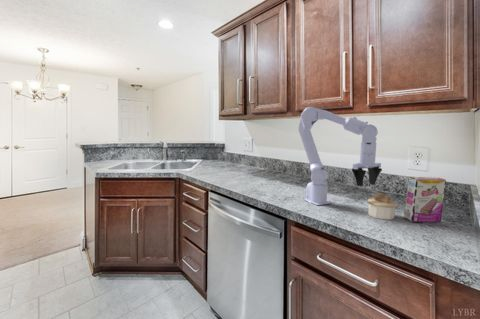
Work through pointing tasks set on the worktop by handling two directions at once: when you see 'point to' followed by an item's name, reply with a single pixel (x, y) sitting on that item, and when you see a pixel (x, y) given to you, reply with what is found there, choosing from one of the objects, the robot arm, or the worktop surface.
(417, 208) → the candy bar box
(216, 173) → the worktop surface
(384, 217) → the bowl
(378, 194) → the lid
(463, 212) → the worktop surface
